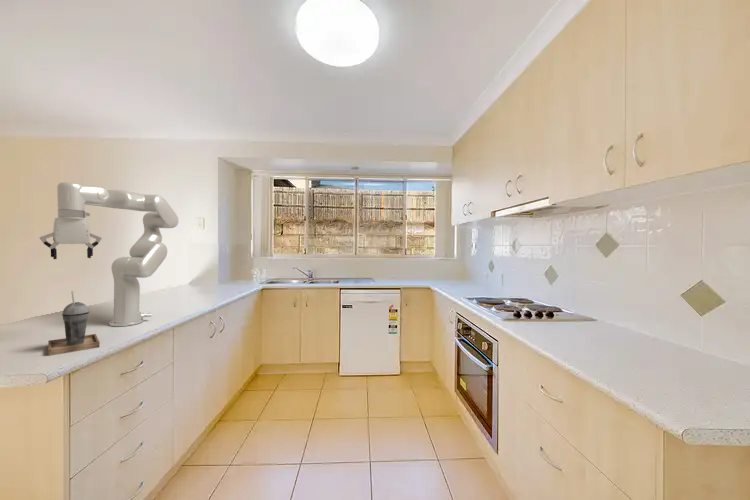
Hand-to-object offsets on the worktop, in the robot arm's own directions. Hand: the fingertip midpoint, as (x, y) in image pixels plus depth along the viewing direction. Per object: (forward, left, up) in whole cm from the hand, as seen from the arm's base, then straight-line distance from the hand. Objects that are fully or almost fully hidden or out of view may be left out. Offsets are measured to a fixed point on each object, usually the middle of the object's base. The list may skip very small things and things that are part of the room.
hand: (72, 258), depth 121 cm
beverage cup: (-1, +12, -32) cm, 34 cm away
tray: (0, +12, -32) cm, 34 cm away
